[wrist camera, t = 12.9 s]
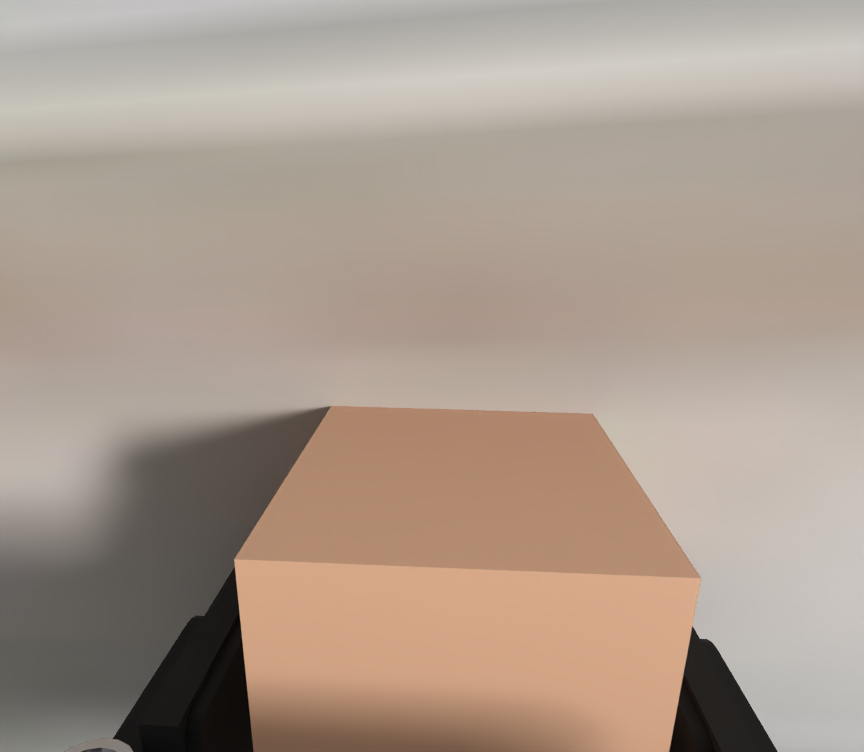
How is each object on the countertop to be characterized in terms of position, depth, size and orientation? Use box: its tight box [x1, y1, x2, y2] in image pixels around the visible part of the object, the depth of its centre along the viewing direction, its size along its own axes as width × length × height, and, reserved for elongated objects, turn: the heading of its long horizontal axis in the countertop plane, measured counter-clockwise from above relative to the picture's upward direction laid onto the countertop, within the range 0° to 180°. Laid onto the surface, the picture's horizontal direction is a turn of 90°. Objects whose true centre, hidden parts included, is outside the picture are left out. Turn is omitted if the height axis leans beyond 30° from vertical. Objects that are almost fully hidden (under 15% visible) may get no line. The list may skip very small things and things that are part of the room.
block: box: [234, 406, 701, 752], centre depth 9 cm, size 5×5×6 cm
